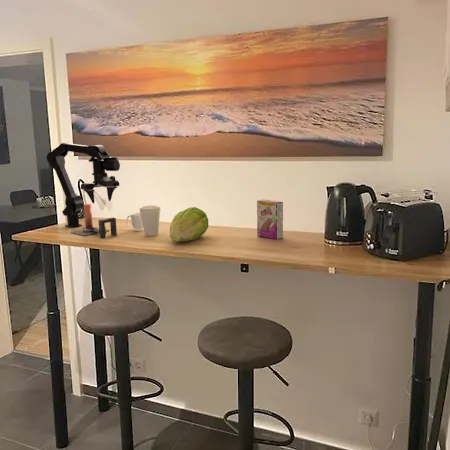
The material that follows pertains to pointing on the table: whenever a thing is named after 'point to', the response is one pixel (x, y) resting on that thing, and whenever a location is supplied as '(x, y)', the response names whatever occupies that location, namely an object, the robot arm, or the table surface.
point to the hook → (89, 220)
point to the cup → (136, 221)
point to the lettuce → (188, 225)
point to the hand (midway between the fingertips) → (101, 202)
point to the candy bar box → (270, 219)
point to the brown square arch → (112, 225)
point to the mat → (81, 233)
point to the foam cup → (150, 219)
